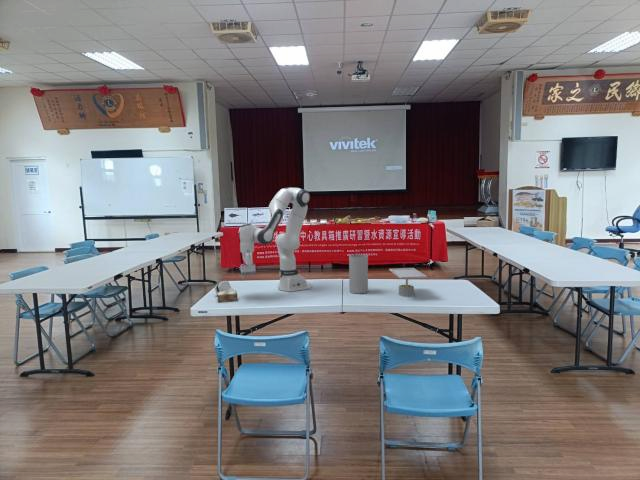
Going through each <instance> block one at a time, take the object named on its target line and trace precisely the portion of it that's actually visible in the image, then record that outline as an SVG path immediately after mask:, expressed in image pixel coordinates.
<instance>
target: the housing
mask: <svg viewBox="0 0 640 480" xmlns="http://www.w3.org/2000/svg"><path fill="white" fill-rule="evenodd" d="M256 274H257V272H256V264H255V263H253V265H251V267H250V271H248V270H247V265H246V264H240V275H241V276H251V275H256Z"/></svg>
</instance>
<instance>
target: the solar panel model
mask: <svg viewBox="0 0 640 480" xmlns="http://www.w3.org/2000/svg"><path fill="white" fill-rule="evenodd" d="M388 271H390V272H391V273H392V274H393V275H395V276H396V277H397V278H399V279H400V280H401V279H403V280H404V279H405V284H399V285H398V295H399V296H401V297H405V298H410V297H413V296H414V295H415V292H414V291H415V286H414V285H411V284H409V279H423V278H424V279H426V278H428V276H427V275H426V274H424V273H422V272H421V271H420V270H417V269H416V268H414V267H403V268H402V267H401V268H399V267H398V268H388Z"/></svg>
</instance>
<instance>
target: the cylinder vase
mask: <svg viewBox="0 0 640 480" xmlns="http://www.w3.org/2000/svg"><path fill="white" fill-rule="evenodd" d="M348 261H349V262H348V265H349V266H348V270H349V272H348V274H349V275H348V276H349V278H348V279H349V281H348V283H349V285H348V286H349V288H348V289H349V292H350V293H352V294H354V293H356V294H357V295H362V293H363V294H366V293H368V291H369V276H368V275H369V268H368V267H369V255H368V254H362V253H358V254H357V253H355V254H354V253H352V254H349V257H348Z"/></svg>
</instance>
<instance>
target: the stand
mask: <svg viewBox="0 0 640 480" xmlns="http://www.w3.org/2000/svg"><path fill="white" fill-rule="evenodd" d="M216 297H217V302H218V303H227V302H238V301H239V300H238V299H239V298H238V292H237V290H234V291H223V292H217V293H216Z"/></svg>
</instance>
